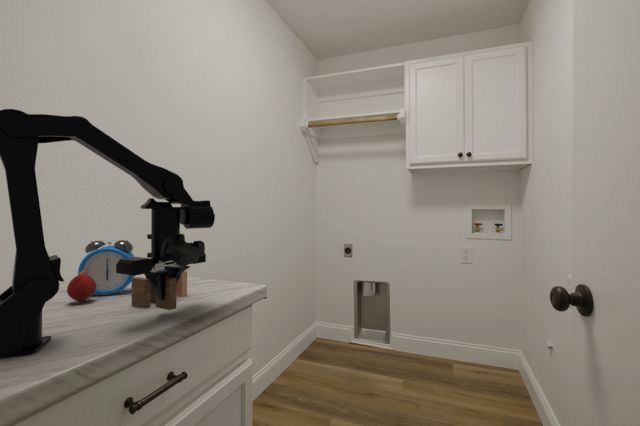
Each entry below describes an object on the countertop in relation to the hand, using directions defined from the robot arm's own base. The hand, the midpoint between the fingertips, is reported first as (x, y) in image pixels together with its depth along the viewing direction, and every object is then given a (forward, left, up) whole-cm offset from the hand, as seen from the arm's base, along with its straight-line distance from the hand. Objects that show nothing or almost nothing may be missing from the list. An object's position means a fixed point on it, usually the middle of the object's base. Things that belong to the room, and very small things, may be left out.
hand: (165, 299), depth 69 cm
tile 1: (0, 0, -2) cm, 2 cm away
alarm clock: (+26, +17, -4) cm, 31 cm away
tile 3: (+12, +4, -4) cm, 13 cm away
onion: (+18, +21, -4) cm, 28 cm away
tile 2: (+10, +6, -4) cm, 12 cm away
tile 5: (+17, -1, -4) cm, 18 cm away
